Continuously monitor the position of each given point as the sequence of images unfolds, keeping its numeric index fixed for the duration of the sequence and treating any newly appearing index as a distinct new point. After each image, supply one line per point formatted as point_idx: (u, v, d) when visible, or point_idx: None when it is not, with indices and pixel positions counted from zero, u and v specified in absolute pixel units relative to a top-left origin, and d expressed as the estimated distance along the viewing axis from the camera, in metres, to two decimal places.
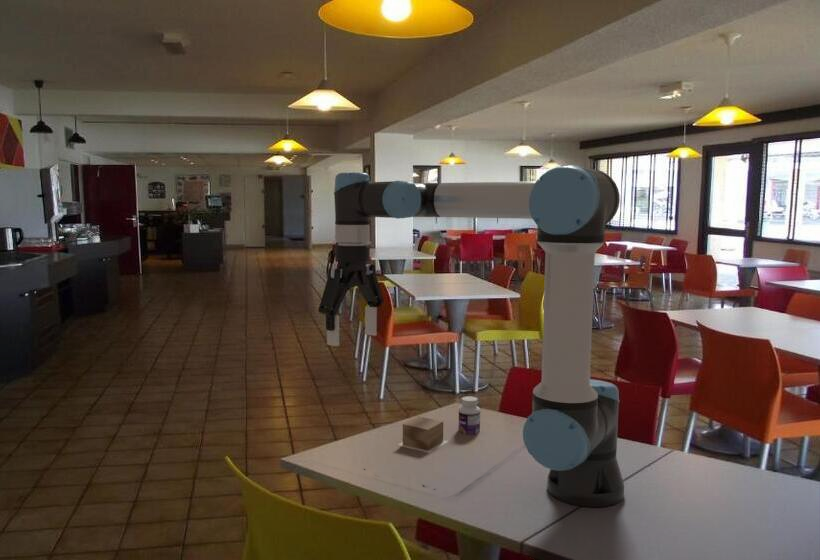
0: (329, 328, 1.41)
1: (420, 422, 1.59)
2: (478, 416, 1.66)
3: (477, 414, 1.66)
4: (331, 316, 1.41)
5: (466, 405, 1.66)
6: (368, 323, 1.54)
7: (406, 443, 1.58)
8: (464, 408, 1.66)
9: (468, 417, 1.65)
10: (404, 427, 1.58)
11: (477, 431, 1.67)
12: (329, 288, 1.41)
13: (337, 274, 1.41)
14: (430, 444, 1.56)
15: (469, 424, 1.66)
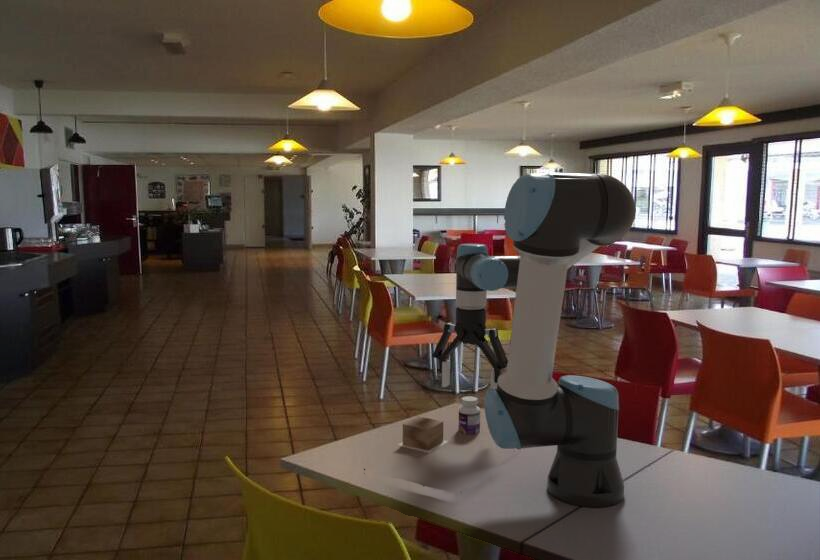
0: None
1: (420, 422, 1.59)
2: (478, 416, 1.66)
3: (477, 414, 1.66)
4: (440, 361, 1.71)
5: (466, 405, 1.66)
6: None
7: (406, 443, 1.58)
8: (464, 408, 1.66)
9: (468, 417, 1.65)
10: (404, 427, 1.58)
11: (477, 431, 1.67)
12: None
13: (444, 328, 1.68)
14: (430, 444, 1.56)
15: (469, 424, 1.66)
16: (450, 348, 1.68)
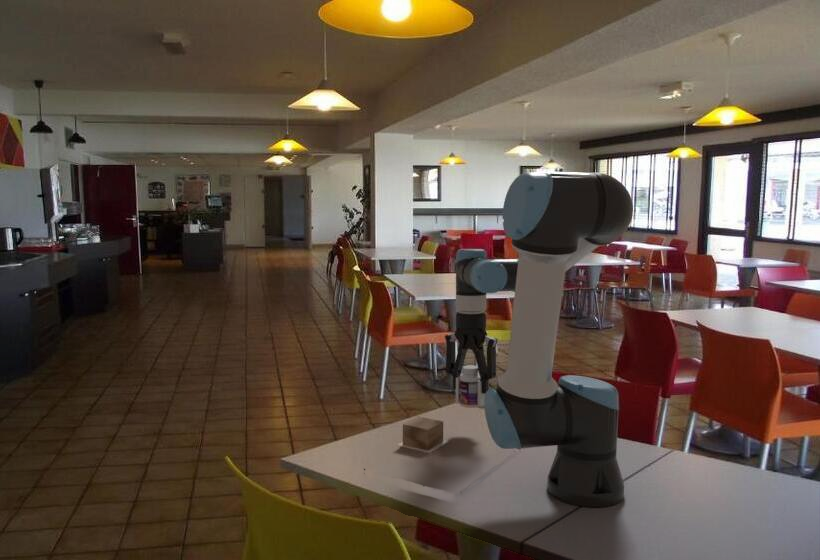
0: None
1: (420, 422, 1.59)
2: None
3: None
4: (453, 376, 1.68)
5: (467, 373, 1.65)
6: None
7: (406, 443, 1.58)
8: (465, 376, 1.65)
9: (469, 385, 1.64)
10: (404, 427, 1.58)
11: None
12: None
13: (446, 339, 1.68)
14: (430, 444, 1.56)
15: (470, 392, 1.64)
16: (458, 359, 1.67)
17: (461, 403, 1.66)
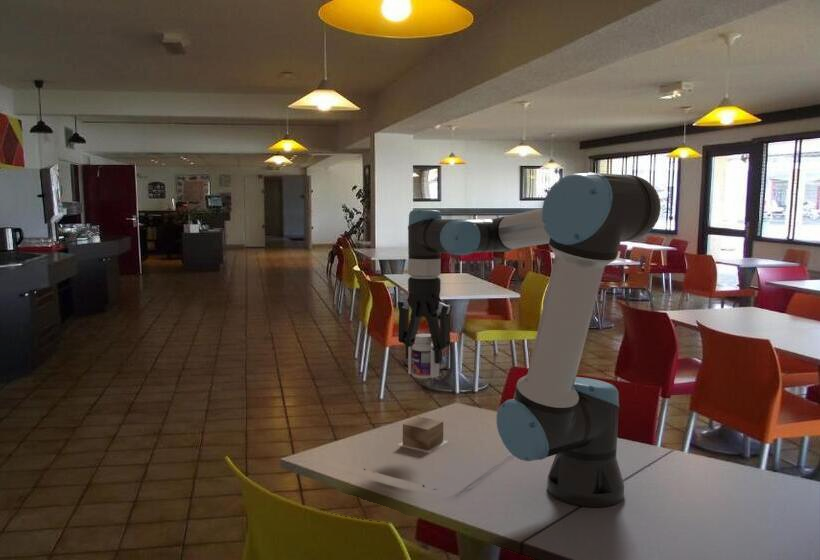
0: None
1: (420, 422, 1.59)
2: None
3: None
4: (406, 346, 1.59)
5: (420, 342, 1.55)
6: None
7: (406, 443, 1.58)
8: (418, 345, 1.55)
9: (422, 354, 1.54)
10: (404, 427, 1.58)
11: None
12: None
13: (399, 306, 1.58)
14: (430, 444, 1.56)
15: (423, 362, 1.55)
16: (411, 327, 1.57)
17: (413, 373, 1.56)
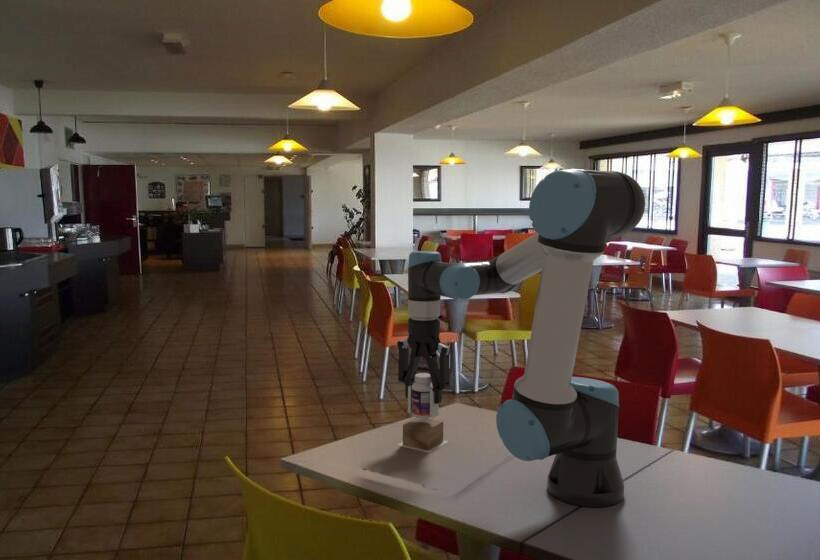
0: None
1: (420, 422, 1.59)
2: None
3: None
4: (406, 385, 1.60)
5: (419, 382, 1.56)
6: None
7: (406, 443, 1.58)
8: (417, 385, 1.57)
9: (421, 395, 1.56)
10: (404, 427, 1.58)
11: None
12: None
13: (398, 346, 1.59)
14: (430, 444, 1.56)
15: (422, 402, 1.56)
16: (411, 367, 1.58)
17: (413, 413, 1.58)
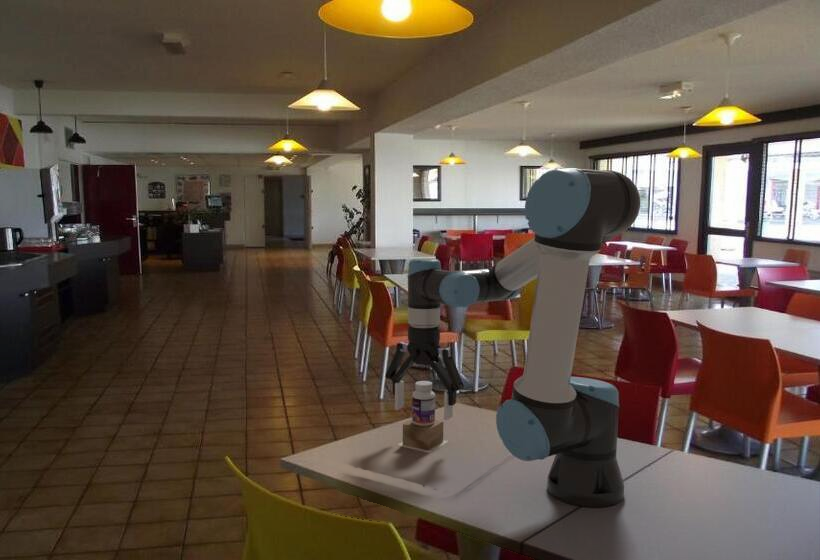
0: None
1: None
2: (432, 402, 1.57)
3: (431, 399, 1.56)
4: (393, 382, 1.62)
5: (419, 390, 1.56)
6: None
7: (406, 443, 1.58)
8: (417, 393, 1.57)
9: (422, 402, 1.56)
10: (404, 427, 1.58)
11: (431, 417, 1.57)
12: None
13: (397, 347, 1.60)
14: (430, 444, 1.56)
15: (423, 410, 1.56)
16: (403, 369, 1.59)
17: (413, 421, 1.58)
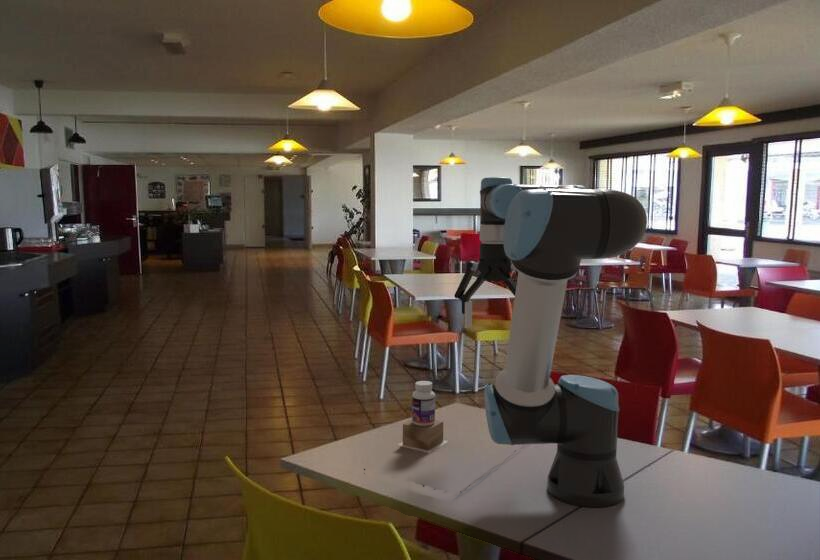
0: None
1: None
2: (432, 402, 1.57)
3: (431, 399, 1.56)
4: (462, 301, 1.65)
5: (419, 390, 1.56)
6: None
7: (406, 443, 1.58)
8: (417, 393, 1.57)
9: (422, 402, 1.56)
10: (404, 427, 1.58)
11: (431, 417, 1.57)
12: None
13: (467, 266, 1.63)
14: (430, 444, 1.56)
15: (423, 410, 1.56)
16: (473, 287, 1.63)
17: (413, 421, 1.58)
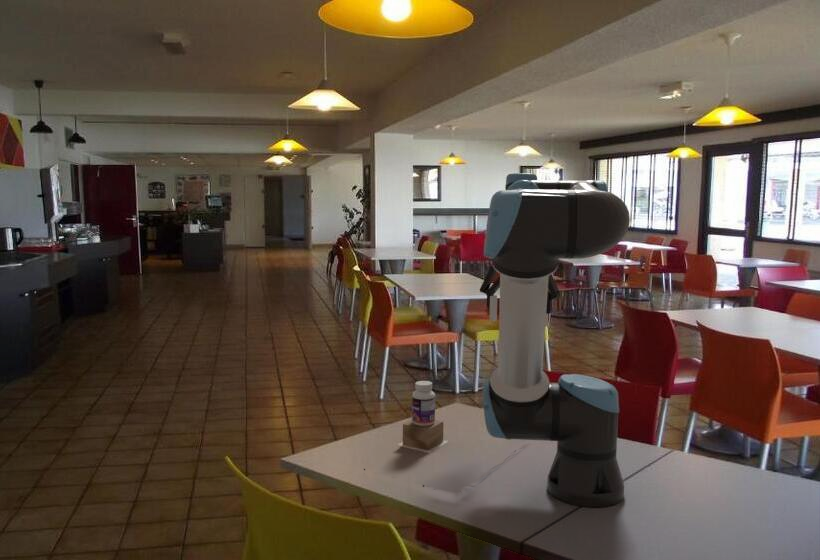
0: None
1: None
2: (432, 402, 1.57)
3: (431, 399, 1.56)
4: (487, 295, 1.68)
5: (419, 390, 1.56)
6: None
7: (406, 443, 1.58)
8: (417, 393, 1.57)
9: (422, 402, 1.56)
10: (404, 427, 1.58)
11: (431, 417, 1.57)
12: None
13: None
14: (430, 444, 1.56)
15: (423, 410, 1.56)
16: (498, 281, 1.66)
17: (413, 421, 1.58)
